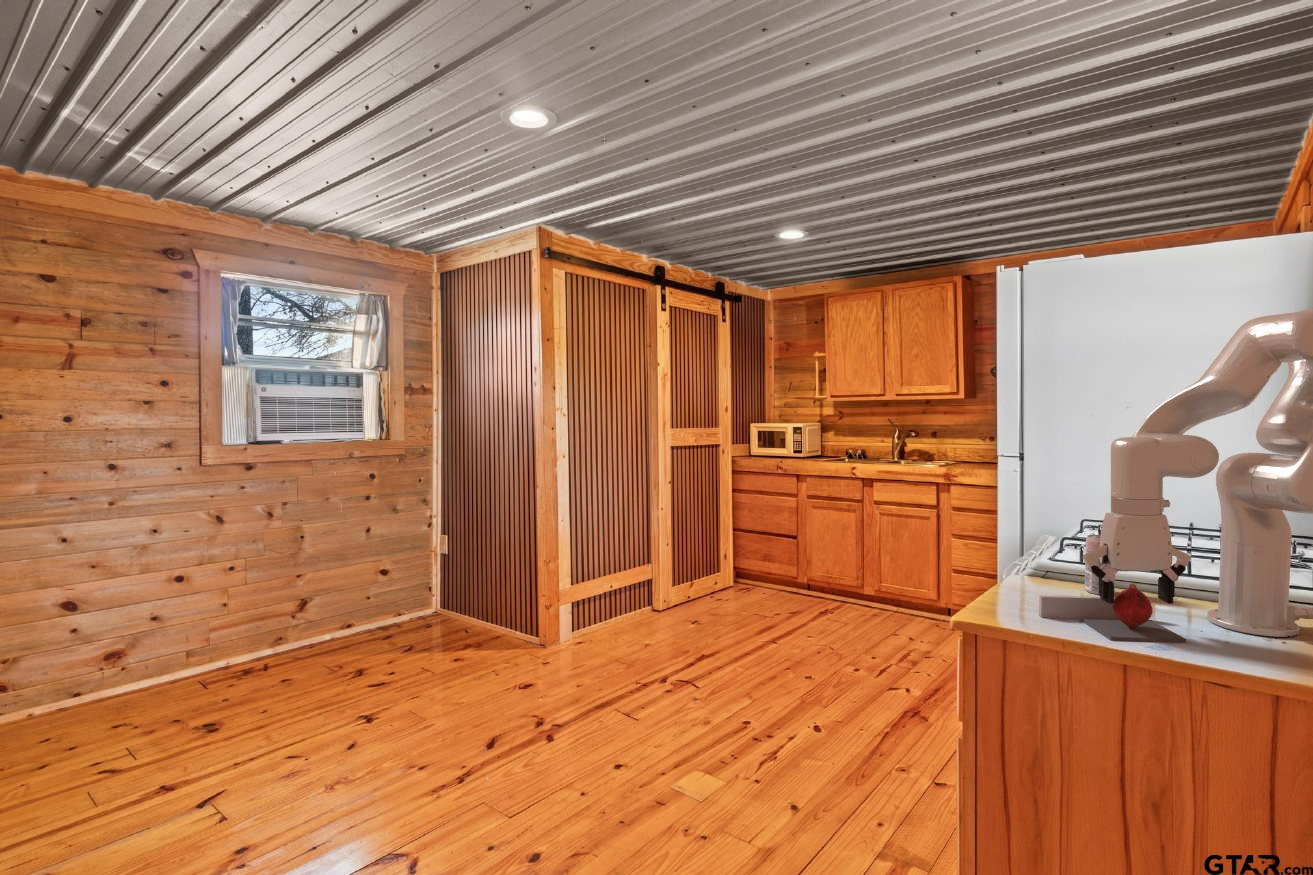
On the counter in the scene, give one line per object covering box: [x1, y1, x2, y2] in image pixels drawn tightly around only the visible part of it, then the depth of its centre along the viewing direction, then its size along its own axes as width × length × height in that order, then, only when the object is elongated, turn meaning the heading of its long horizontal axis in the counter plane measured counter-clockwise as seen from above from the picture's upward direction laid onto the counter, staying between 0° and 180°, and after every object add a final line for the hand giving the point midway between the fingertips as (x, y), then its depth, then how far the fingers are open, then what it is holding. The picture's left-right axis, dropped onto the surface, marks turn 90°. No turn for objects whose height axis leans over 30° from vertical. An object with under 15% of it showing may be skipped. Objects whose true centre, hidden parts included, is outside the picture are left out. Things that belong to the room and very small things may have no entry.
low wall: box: [1038, 594, 1119, 620], centre depth 127 cm, size 19×1×4 cm, turn 83°
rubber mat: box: [1081, 618, 1187, 644], centre depth 120 cm, size 12×10×1 cm
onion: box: [1113, 583, 1153, 628], centre depth 120 cm, size 6×6×8 cm
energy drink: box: [1084, 534, 1116, 596], centre depth 144 cm, size 5×5×12 cm
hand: (1136, 601), depth 120 cm, fingers open, 9 cm apart
